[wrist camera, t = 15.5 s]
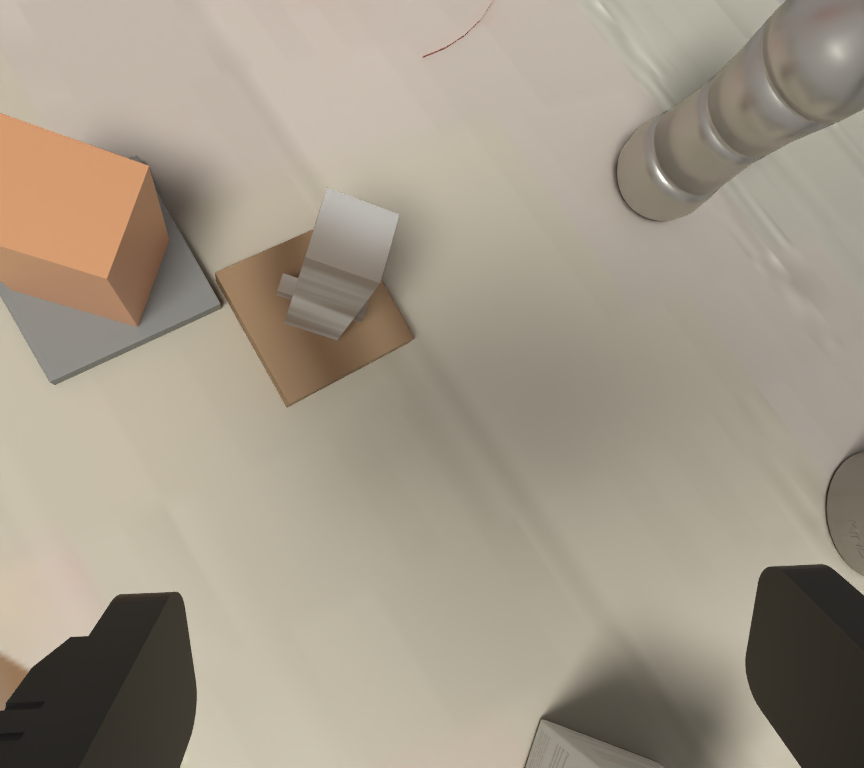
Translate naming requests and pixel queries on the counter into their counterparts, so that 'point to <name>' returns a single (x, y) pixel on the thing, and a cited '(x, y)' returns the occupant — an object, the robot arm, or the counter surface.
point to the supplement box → (579, 751)
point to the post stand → (320, 298)
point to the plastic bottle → (749, 108)
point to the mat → (105, 338)
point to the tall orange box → (77, 223)
